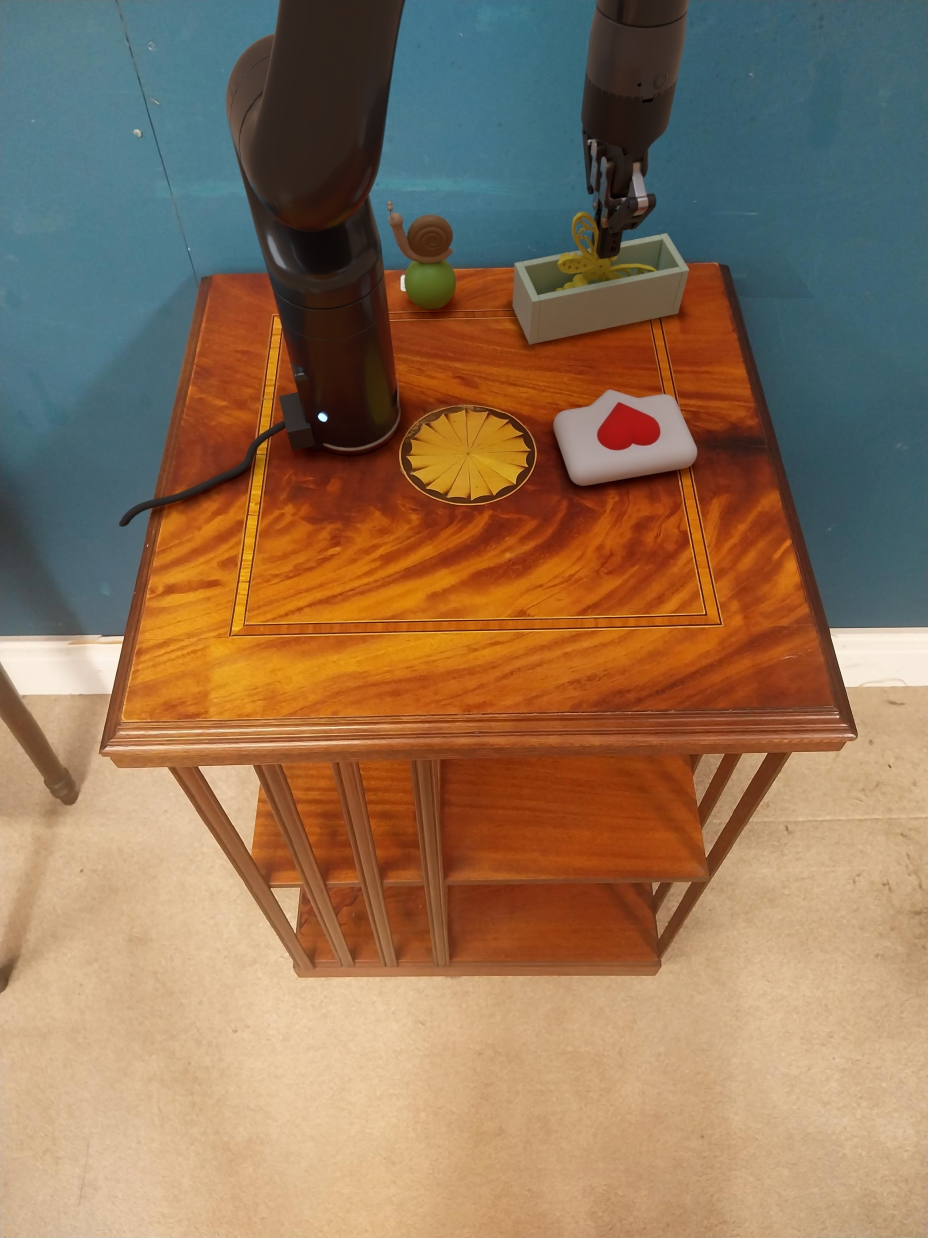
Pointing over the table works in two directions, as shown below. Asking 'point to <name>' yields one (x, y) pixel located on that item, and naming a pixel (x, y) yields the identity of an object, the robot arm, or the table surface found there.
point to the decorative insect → (591, 259)
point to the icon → (623, 438)
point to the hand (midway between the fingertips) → (604, 250)
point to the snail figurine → (426, 259)
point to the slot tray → (599, 292)
